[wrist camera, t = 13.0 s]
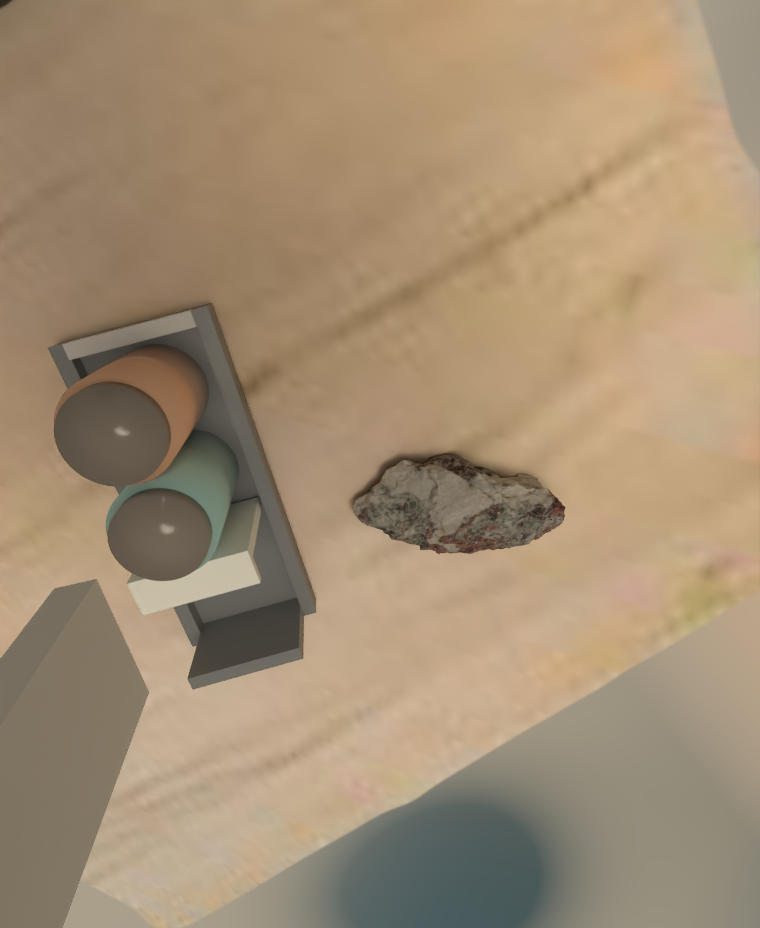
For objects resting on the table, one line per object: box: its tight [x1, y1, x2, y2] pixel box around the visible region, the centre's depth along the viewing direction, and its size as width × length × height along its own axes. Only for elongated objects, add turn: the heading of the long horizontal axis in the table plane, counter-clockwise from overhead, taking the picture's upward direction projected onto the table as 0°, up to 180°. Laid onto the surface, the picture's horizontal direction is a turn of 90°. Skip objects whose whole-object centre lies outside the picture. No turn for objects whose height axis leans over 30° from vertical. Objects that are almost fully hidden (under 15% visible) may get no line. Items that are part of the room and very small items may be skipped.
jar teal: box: [106, 430, 239, 581], centre depth 33 cm, size 6×6×10 cm
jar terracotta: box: [54, 344, 209, 486], centre depth 31 cm, size 6×6×10 cm
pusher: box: [127, 497, 262, 615], centre depth 36 cm, size 2×7×8 cm, turn 104°
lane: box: [48, 303, 316, 689], centre depth 36 cm, size 24×10×7 cm, turn 14°
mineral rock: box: [353, 454, 565, 554], centre depth 40 cm, size 15×8×4 cm, turn 71°
